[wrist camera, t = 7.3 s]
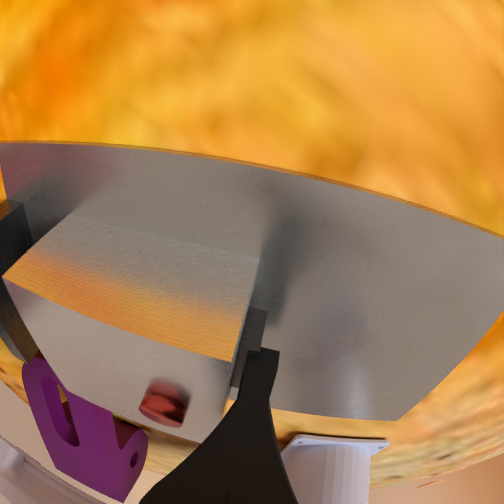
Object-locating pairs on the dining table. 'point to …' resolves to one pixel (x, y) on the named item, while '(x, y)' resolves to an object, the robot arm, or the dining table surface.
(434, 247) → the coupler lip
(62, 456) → the mounting bracket
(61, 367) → the block
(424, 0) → the dining table surface
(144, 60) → the dining table surface
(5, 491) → the robot arm
